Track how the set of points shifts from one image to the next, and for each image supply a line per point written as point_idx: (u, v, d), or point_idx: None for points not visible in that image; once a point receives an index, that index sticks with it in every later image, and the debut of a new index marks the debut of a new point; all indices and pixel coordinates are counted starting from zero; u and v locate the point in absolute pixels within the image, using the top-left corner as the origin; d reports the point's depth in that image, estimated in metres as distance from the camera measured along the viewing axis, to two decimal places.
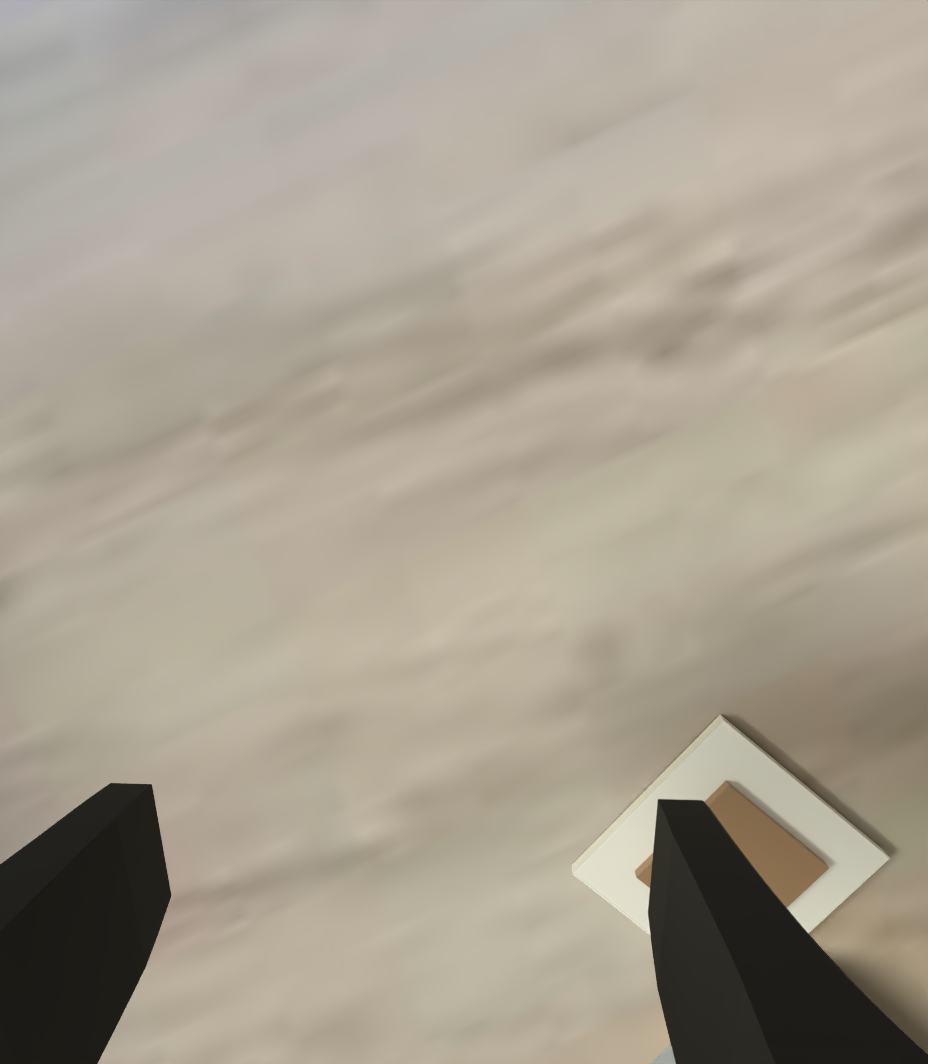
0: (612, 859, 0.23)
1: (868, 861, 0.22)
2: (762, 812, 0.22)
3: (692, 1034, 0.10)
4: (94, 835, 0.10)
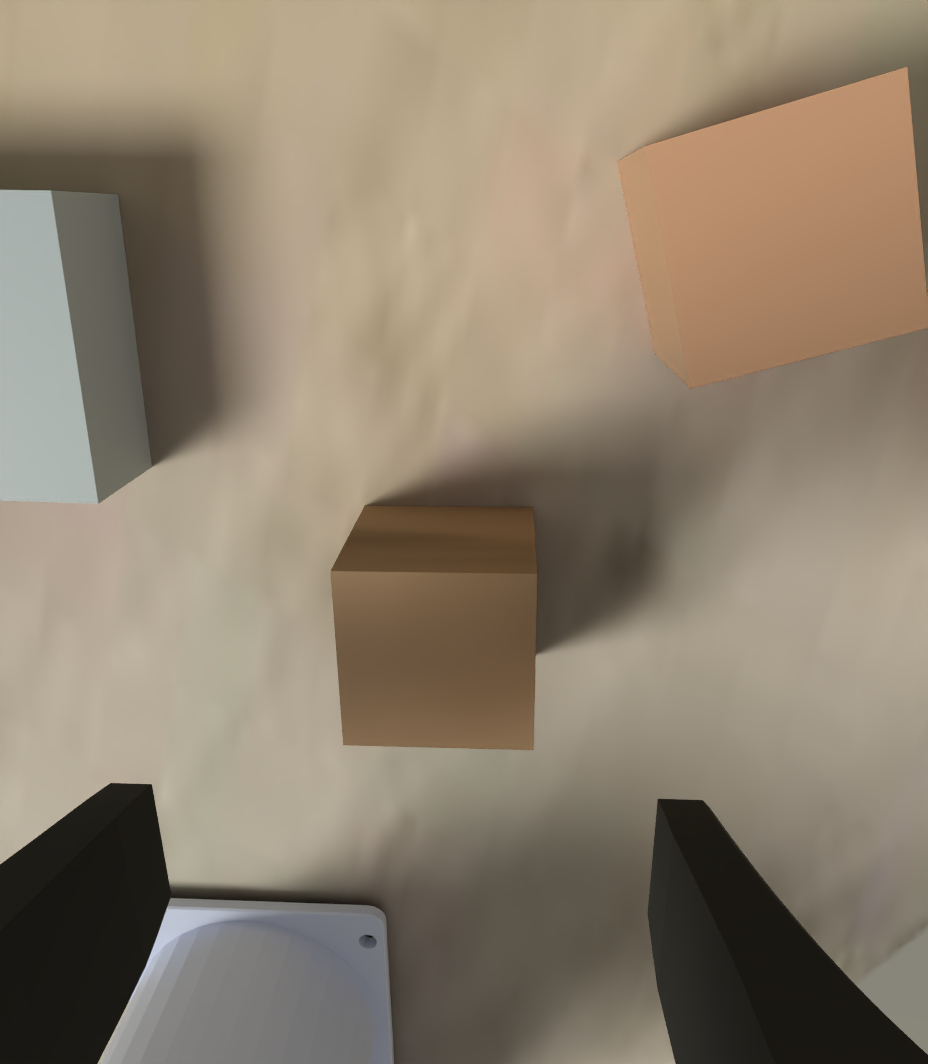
0: None
1: None
2: None
3: (692, 1034, 0.10)
4: (94, 835, 0.10)
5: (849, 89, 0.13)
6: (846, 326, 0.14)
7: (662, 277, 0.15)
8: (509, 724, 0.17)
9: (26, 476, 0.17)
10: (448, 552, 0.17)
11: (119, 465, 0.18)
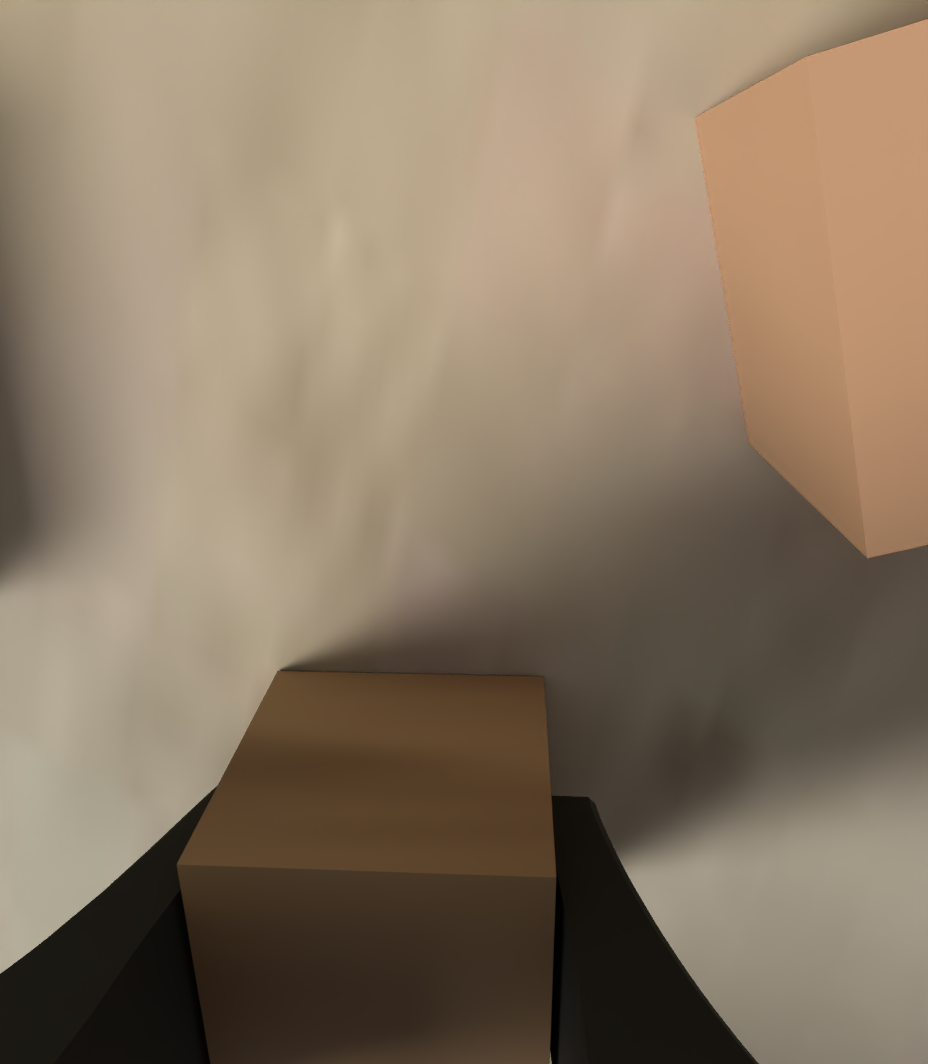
0: None
1: None
2: None
3: (558, 1028, 0.10)
4: None
5: None
6: None
7: (809, 334, 0.07)
8: None
9: None
10: (397, 807, 0.10)
11: None
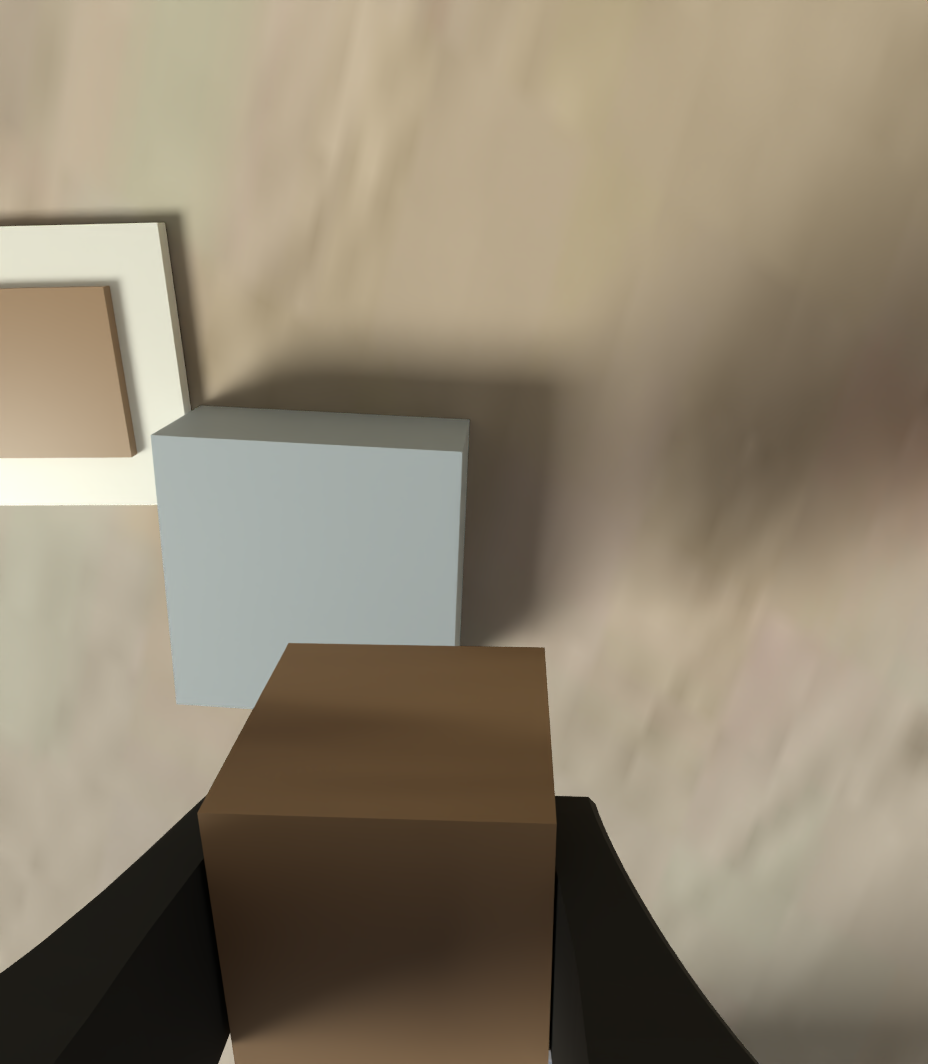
0: None
1: (143, 246, 0.17)
2: None
3: (558, 1028, 0.10)
4: None
5: None
6: None
7: None
8: (506, 1044, 0.10)
9: None
10: (405, 762, 0.10)
11: None
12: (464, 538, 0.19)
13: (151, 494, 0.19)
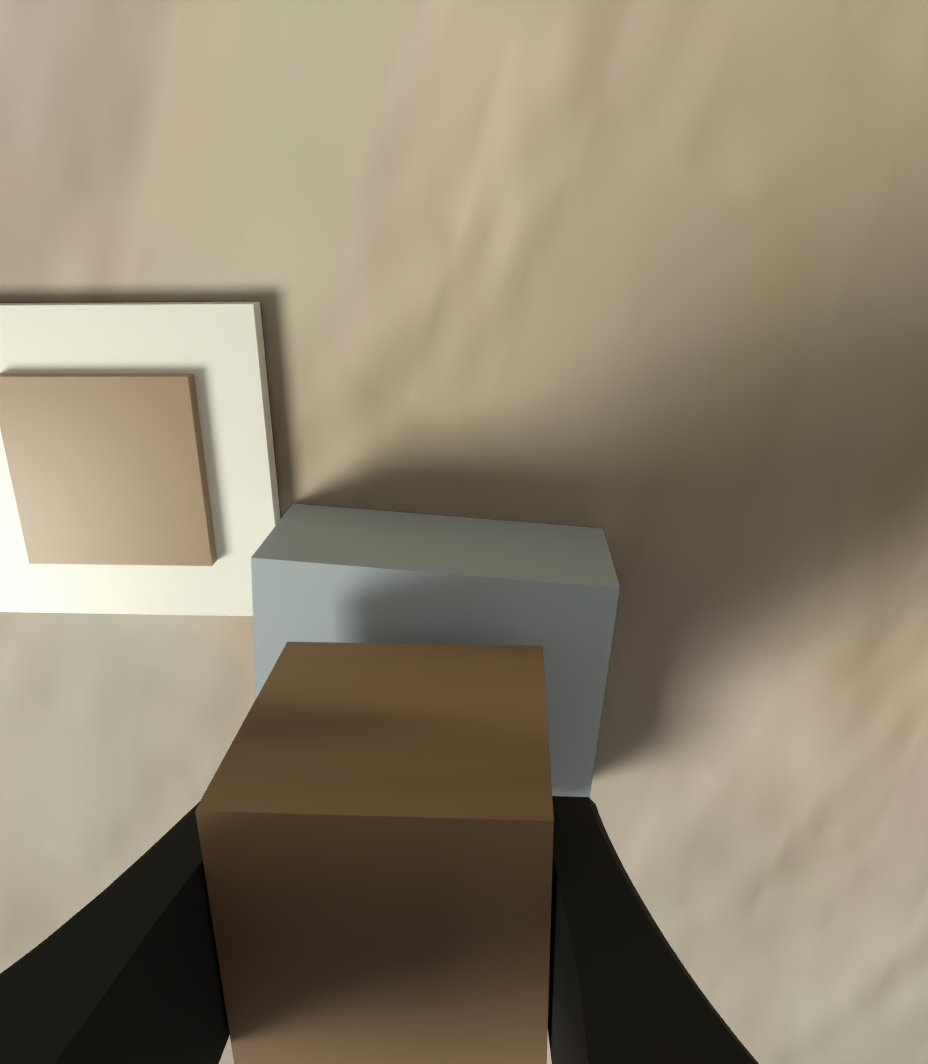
0: (5, 563, 0.16)
1: (235, 330, 0.14)
2: (62, 376, 0.15)
3: (558, 1028, 0.10)
4: None
5: None
6: None
7: None
8: (506, 1042, 0.10)
9: None
10: (403, 760, 0.10)
11: None
12: None
13: (231, 604, 0.16)
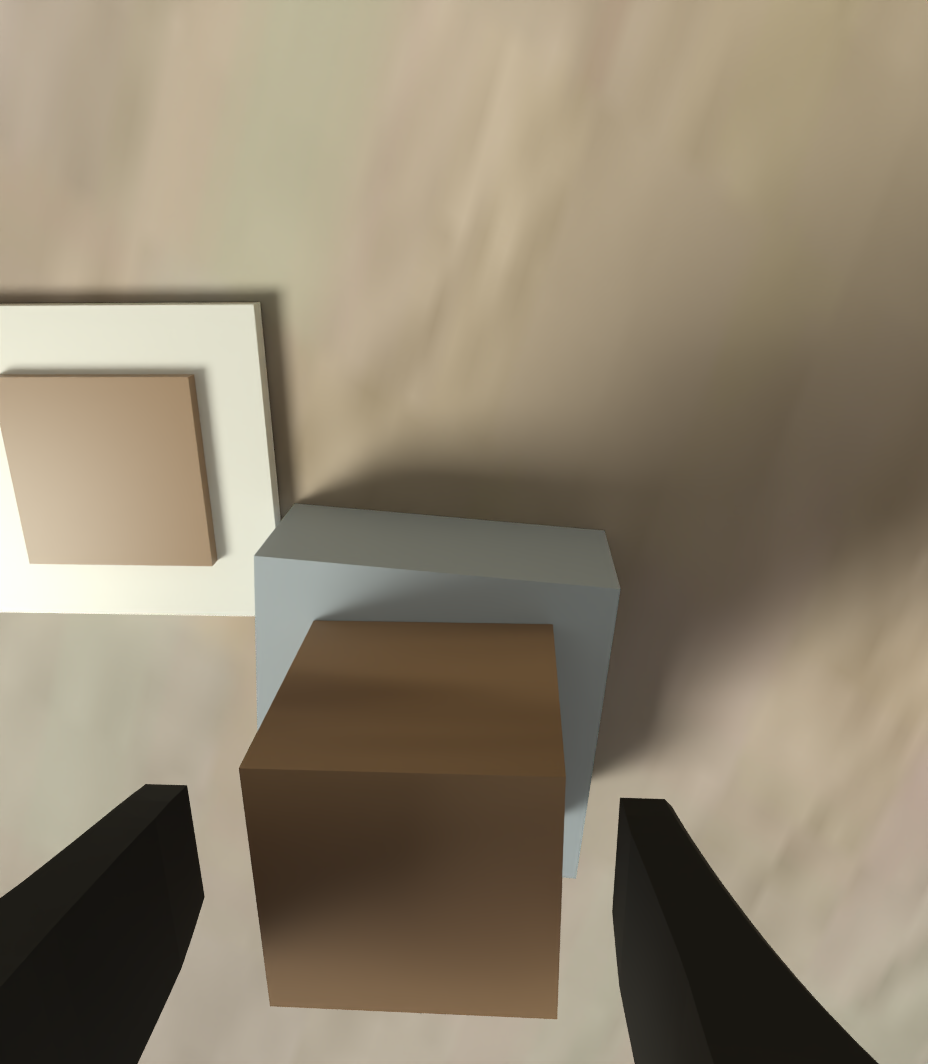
0: (6, 564, 0.16)
1: (236, 330, 0.14)
2: (62, 376, 0.15)
3: (647, 1033, 0.10)
4: (134, 836, 0.10)
5: None
6: None
7: None
8: (520, 984, 0.11)
9: None
10: (426, 725, 0.11)
11: None
12: None
13: (231, 605, 0.16)
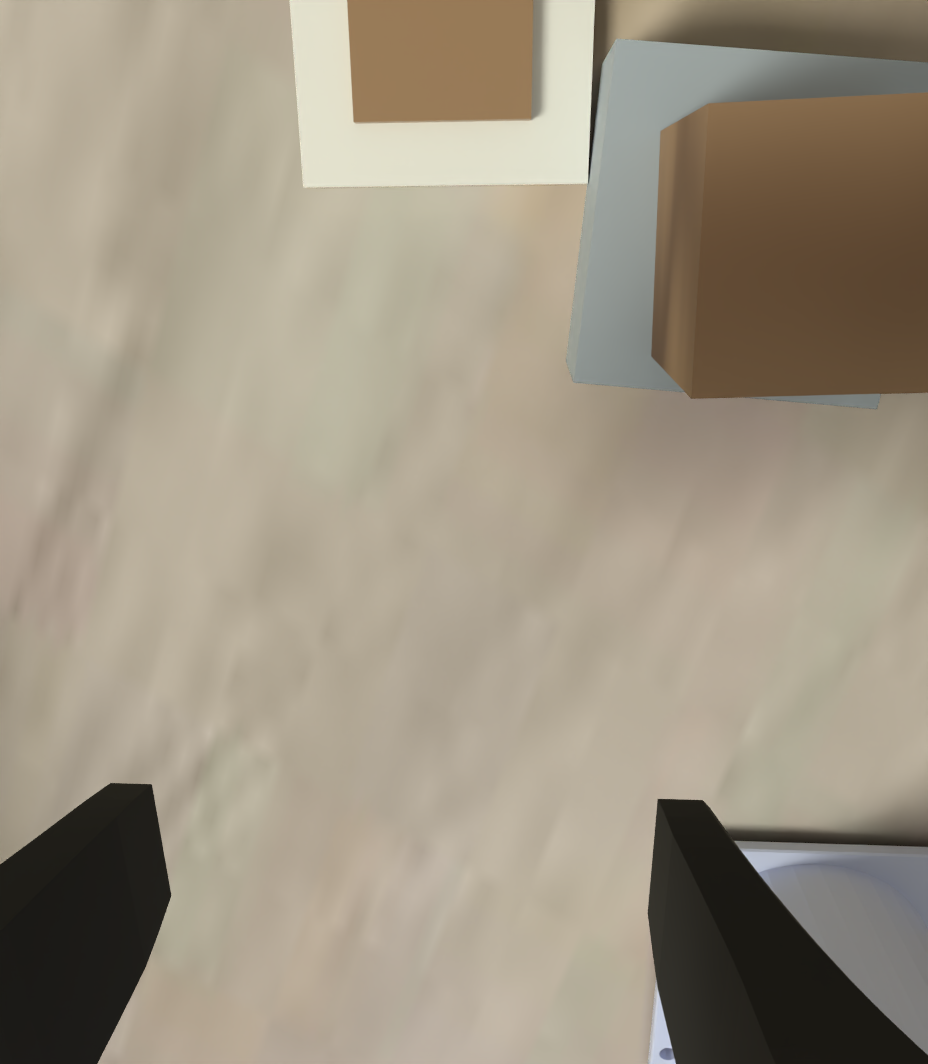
0: (324, 131, 0.17)
1: None
2: None
3: (692, 1034, 0.10)
4: (94, 835, 0.10)
5: None
6: None
7: None
8: None
9: None
10: None
11: None
12: None
13: (538, 171, 0.17)
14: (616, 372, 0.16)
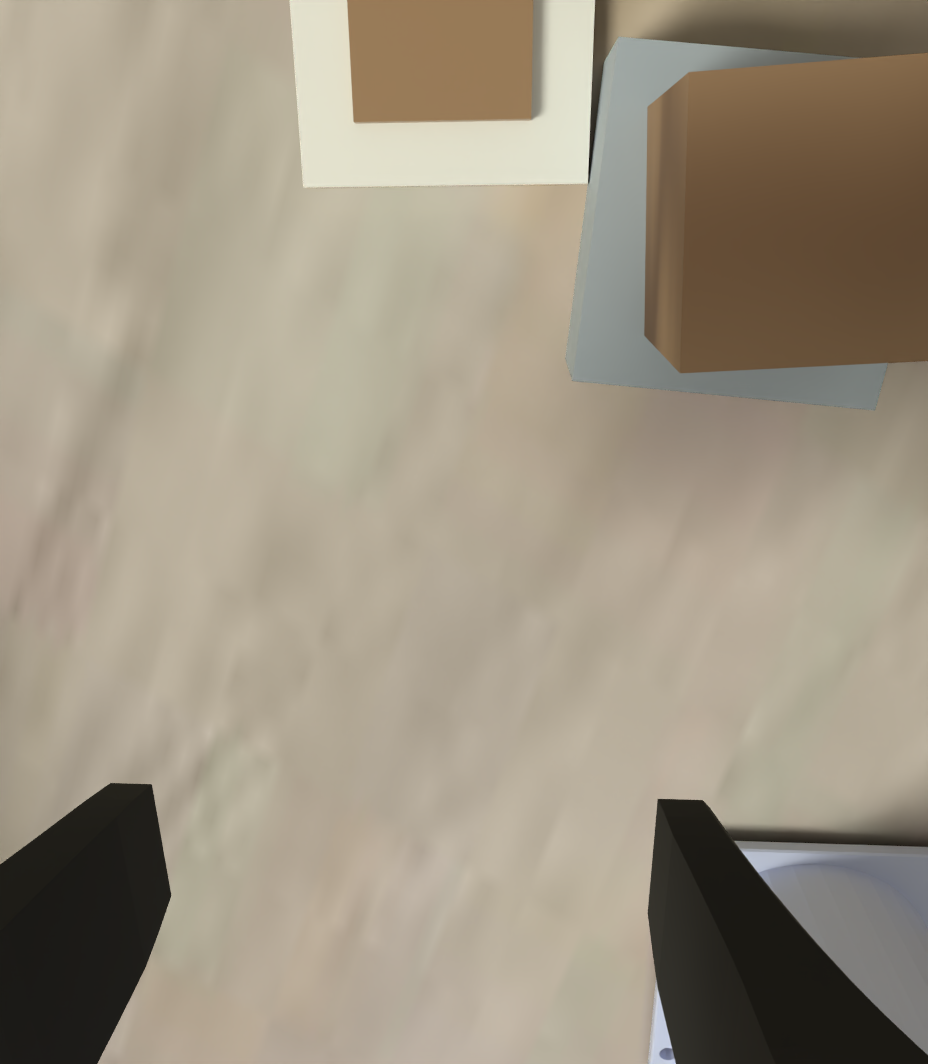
0: (324, 131, 0.17)
1: None
2: None
3: (692, 1034, 0.10)
4: (94, 835, 0.10)
5: None
6: None
7: None
8: None
9: (808, 376, 0.16)
10: None
11: None
12: None
13: (538, 171, 0.17)
14: (615, 371, 0.16)
